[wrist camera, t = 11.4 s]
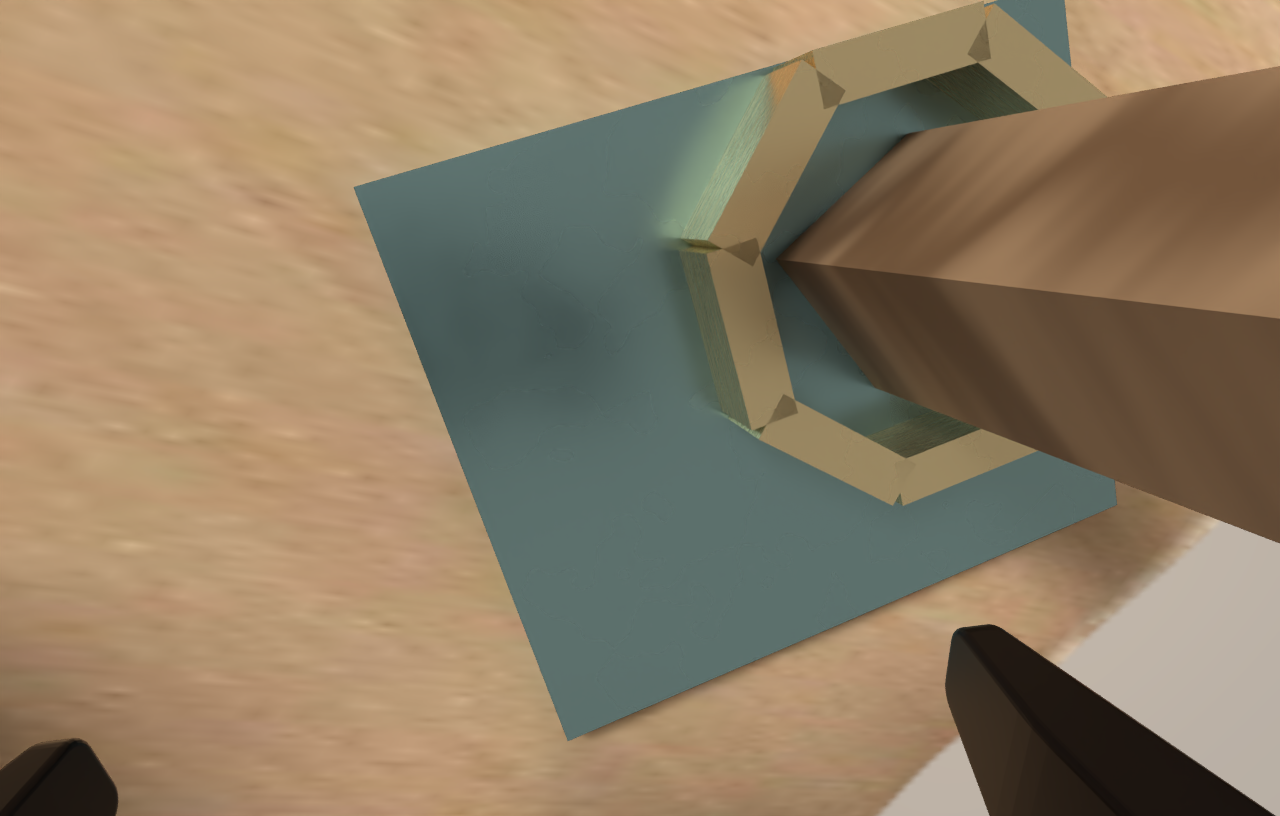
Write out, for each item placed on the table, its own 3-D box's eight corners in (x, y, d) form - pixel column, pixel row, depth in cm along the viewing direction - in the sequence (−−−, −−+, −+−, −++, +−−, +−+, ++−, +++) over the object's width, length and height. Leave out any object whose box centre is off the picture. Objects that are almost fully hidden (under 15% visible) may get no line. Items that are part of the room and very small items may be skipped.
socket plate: (562, 718, 22) (581, 792, 19) (357, 189, 17) (342, 182, 15) (1091, 494, 25) (1175, 529, 22) (1033, -8, 20) (1129, -44, 17)
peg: (875, 388, 21) (1643, 682, 8) (775, 259, 19) (1525, 347, 6) (997, 270, 21) (1962, 360, 8) (908, 133, 19) (1929, -51, 6)
